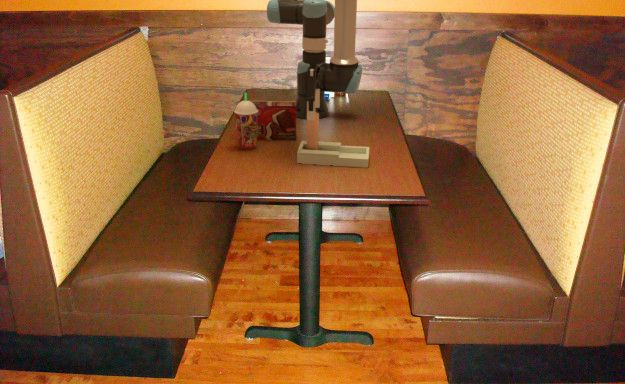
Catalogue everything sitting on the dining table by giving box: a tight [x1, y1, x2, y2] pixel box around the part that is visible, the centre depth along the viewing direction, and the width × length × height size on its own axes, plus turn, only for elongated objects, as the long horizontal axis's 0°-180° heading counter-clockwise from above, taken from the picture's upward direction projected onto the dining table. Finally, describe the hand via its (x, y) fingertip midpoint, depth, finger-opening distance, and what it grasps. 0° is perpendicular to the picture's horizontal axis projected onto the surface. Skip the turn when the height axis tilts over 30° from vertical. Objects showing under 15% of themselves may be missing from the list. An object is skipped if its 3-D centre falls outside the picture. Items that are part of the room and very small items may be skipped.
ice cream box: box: [250, 100, 297, 141], centre depth 219 cm, size 20×6×13 cm, turn 92°
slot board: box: [296, 140, 370, 169], centre depth 201 cm, size 12×24×4 cm, turn 84°
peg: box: [306, 112, 320, 150], centre depth 199 cm, size 6×6×15 cm
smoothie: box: [233, 92, 258, 151], centre depth 207 cm, size 8×8×20 cm
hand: (313, 113), depth 196 cm, fingers open, 13 cm apart
